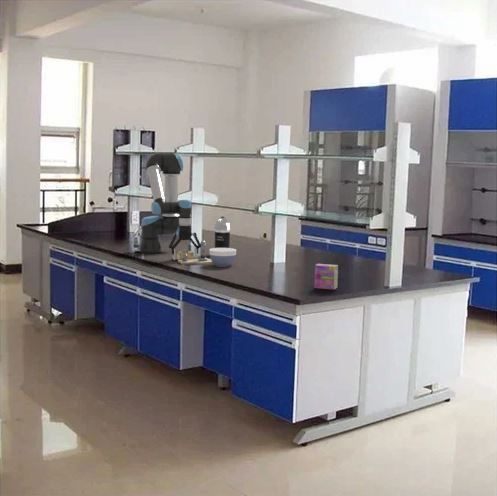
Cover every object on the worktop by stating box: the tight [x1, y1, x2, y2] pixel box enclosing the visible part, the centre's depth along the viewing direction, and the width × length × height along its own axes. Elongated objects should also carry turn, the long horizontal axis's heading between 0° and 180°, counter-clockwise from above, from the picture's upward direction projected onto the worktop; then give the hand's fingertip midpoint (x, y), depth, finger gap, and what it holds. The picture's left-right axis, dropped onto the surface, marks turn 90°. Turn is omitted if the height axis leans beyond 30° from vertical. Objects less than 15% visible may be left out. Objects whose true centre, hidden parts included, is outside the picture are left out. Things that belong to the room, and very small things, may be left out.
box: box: [314, 263, 339, 291], centre depth 356 cm, size 10×6×12 cm, turn 66°
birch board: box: [177, 258, 215, 266], centre depth 428 cm, size 12×20×1 cm, turn 110°
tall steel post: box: [198, 240, 208, 261], centre depth 429 cm, size 5×5×12 cm
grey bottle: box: [214, 216, 231, 248], centre depth 460 cm, size 10×10×25 cm
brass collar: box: [176, 250, 194, 261], centre depth 438 cm, size 8×8×5 cm
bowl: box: [209, 247, 237, 268], centre depth 419 cm, size 16×16×10 cm
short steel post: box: [183, 254, 188, 262], centre depth 426 cm, size 3×3×4 cm
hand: (185, 259), depth 438 cm, fingers open, 13 cm apart
